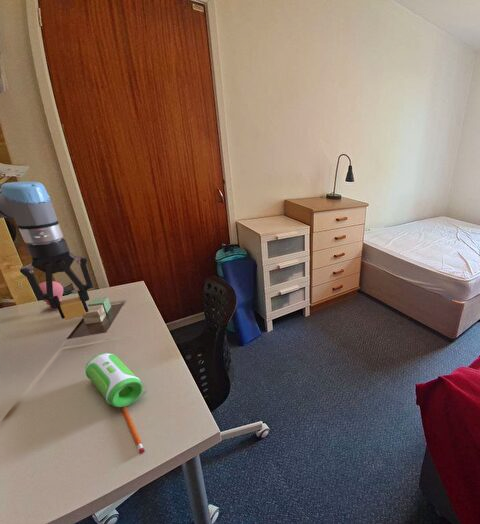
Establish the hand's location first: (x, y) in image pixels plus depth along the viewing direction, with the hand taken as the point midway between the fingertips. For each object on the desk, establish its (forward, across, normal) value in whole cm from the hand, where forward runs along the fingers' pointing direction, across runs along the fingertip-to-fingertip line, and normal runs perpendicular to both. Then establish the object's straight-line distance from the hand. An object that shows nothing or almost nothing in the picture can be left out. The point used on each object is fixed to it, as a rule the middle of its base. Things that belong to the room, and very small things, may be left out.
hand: (75, 313), depth 85 cm
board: (+12, +3, +13) cm, 18 cm away
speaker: (+12, +4, -28) cm, 31 cm away
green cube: (+11, +6, +19) cm, 22 cm away
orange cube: (0, 0, 0) cm, 0 cm away
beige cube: (+11, +3, +13) cm, 17 cm away
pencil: (+12, +5, -43) cm, 45 cm away
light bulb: (+12, -6, +32) cm, 35 cm away
